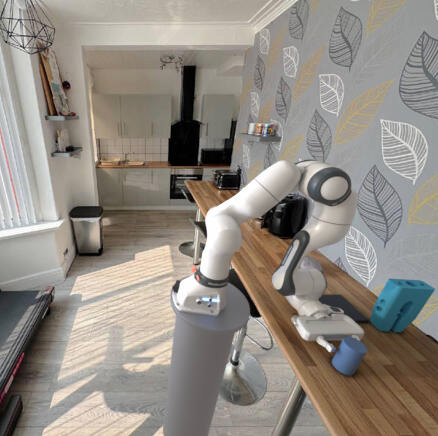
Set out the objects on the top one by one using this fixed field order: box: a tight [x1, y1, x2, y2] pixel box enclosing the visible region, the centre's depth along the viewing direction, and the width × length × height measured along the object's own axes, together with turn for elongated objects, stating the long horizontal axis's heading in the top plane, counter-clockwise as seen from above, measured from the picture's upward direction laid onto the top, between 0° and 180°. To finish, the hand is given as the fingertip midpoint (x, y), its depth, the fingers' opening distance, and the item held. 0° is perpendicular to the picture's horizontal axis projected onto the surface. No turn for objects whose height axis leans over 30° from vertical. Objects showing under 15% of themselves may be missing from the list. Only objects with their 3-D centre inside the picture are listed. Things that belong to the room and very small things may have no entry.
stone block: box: [299, 255, 323, 273], centre depth 122 cm, size 12×5×10 cm
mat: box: [319, 294, 370, 323], centre depth 96 cm, size 18×14×1 cm
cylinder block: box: [331, 336, 368, 377], centre depth 72 cm, size 6×6×10 cm
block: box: [369, 278, 436, 333], centre depth 85 cm, size 12×5×20 cm, turn 88°
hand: (347, 350), depth 72 cm, fingers open, 8 cm apart
